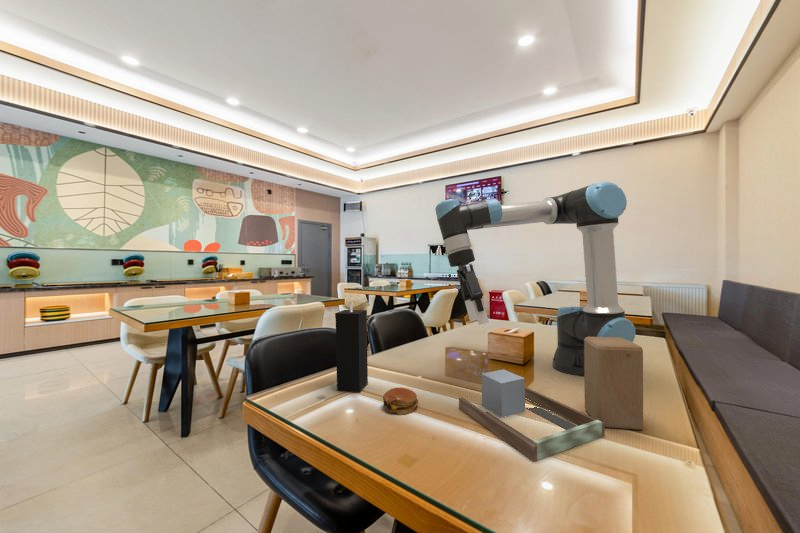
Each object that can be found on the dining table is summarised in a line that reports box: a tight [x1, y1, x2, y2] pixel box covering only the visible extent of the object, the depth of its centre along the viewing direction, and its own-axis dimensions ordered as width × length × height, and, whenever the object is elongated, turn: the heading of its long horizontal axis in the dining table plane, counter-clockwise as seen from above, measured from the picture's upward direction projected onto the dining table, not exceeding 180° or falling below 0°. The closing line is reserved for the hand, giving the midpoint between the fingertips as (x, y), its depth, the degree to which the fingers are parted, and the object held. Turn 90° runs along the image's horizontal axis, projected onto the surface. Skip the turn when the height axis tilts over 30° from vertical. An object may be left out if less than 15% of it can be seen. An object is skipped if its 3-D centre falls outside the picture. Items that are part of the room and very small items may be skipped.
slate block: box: [481, 369, 526, 418], centre depth 89 cm, size 8×8×9 cm
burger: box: [382, 387, 419, 416], centre depth 90 cm, size 10×9×5 cm
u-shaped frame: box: [458, 386, 606, 462], centre depth 81 cm, size 22×26×4 cm
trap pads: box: [485, 407, 578, 443], centre depth 81 cm, size 18×16×1 cm
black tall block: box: [334, 301, 369, 393], centre depth 105 cm, size 8×8×28 cm
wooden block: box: [583, 337, 644, 431], centre depth 81 cm, size 10×10×20 cm
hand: (478, 321), depth 93 cm, fingers open, 13 cm apart
